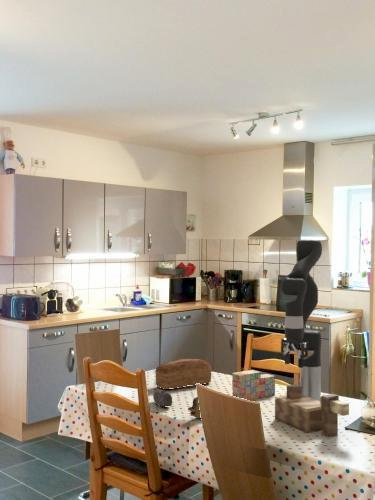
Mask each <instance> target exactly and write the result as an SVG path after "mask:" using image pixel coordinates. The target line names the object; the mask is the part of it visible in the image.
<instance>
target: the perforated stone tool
mask: <svg viewBox="0 0 375 500" xmlns="http://www.w3.org/2000/svg"><path fill="white" fill-rule="evenodd" d="M152 397H153V401H154V402H156V405H158V404H159V405H160V406H159V405H158V406H159V407H162V406H163V407H162V408H164V407H165V406H170V407H171V406H172V404H173V397H172V395H171V394H170V393H169V391H167V390H164V389H157V390H155V391H154V392H153V396H152Z"/></svg>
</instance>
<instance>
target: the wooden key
mask: <svg viewBox="0 0 375 500" xmlns="http://www.w3.org/2000/svg"><path fill="white" fill-rule="evenodd" d="M320 408H321V397H320ZM329 411H331V412H334V413H336V414H338V415H339V416H344V417H345V416H348V415H350V403H348V402H344V401H341V400H336V399H329Z"/></svg>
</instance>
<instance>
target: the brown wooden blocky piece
mask: <svg viewBox="0 0 375 500" xmlns="http://www.w3.org/2000/svg"><path fill="white" fill-rule="evenodd" d="M329 399H336V400H339V395H338V394H334V393H330V394H324V395H321V410H316V411H310V412H305V411H303V410H300V409H298V408H295V407H292V406H290V405H287V404H285V403H282V402H280V401H277V400H275V399H274V420H275V421H278V422H281V423H282V424H285V425H287V426H290V427H292V428H295V429H297V430H300V431H302V432H303V433H306V434H309V433H313V432H318V431H322V432H321V435H322V436H324V437H326V438H330V437H335V436H338V435H339V434H338V431H339V429H338V428H339V424H338V422H339V421H338V418H339V417H338V415H339V414H336V413H334V412H331V411H329ZM339 401H340V400H339Z"/></svg>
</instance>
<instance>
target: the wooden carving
mask: <svg viewBox="0 0 375 500" xmlns="http://www.w3.org/2000/svg"><path fill="white" fill-rule="evenodd" d="M187 410H188V411H190V412H189V415H190V416H192V417H194V418H196V419H199V418H200V410H199V403H198V397H197V396H196V397H194V398H193V400H192V405H191V406H189V407H188V408H187Z"/></svg>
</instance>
